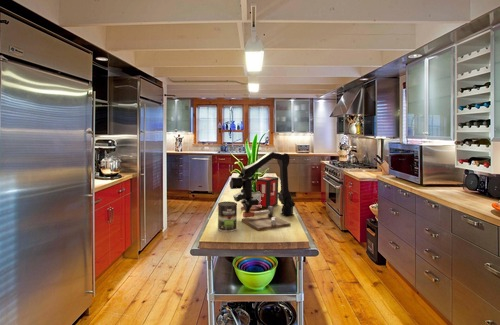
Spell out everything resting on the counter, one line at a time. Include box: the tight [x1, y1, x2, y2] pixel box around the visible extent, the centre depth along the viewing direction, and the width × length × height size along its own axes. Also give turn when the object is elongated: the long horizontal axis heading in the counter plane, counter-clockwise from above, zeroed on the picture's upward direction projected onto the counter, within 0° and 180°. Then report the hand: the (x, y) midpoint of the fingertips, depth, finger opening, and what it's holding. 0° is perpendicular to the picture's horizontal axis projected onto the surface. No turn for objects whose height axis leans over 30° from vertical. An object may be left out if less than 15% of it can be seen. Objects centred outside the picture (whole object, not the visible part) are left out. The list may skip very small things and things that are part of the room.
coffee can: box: [217, 201, 238, 233], centre depth 169 cm, size 10×10×14 cm
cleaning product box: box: [255, 176, 279, 210], centre depth 222 cm, size 16×9×20 cm, turn 148°
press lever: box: [242, 206, 274, 218], centre depth 186 cm, size 20×3×6 cm, turn 117°
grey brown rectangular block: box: [271, 217, 275, 226], centre depth 175 cm, size 6×2×3 cm, turn 172°
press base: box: [241, 214, 292, 232], centre depth 181 cm, size 21×20×2 cm
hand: (246, 213), depth 188 cm, fingers closed
